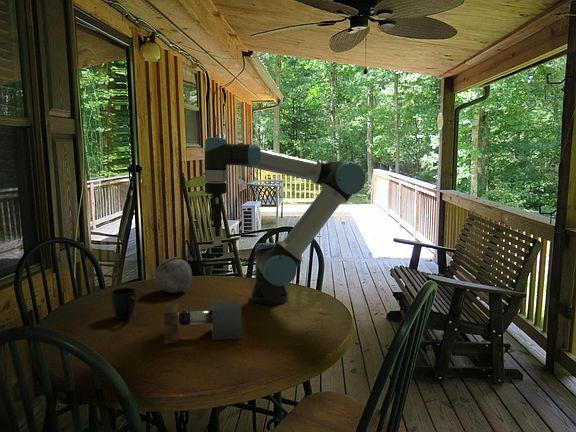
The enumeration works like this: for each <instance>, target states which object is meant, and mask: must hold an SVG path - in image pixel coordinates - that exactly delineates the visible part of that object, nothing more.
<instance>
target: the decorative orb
mask: <svg viewBox="0 0 576 432" xmlns="http://www.w3.org/2000/svg"><path fill="white" fill-rule="evenodd" d="M154 277H155V281H156V284H157V285H158V287H159V288H160V289H162V290H163V291H164V292H165V293H169V294H177V293H180V292H182V291H185V289H187V287H189V286H190V284H191V281H192V279H193V271H192V267H191V266H190V264H189V263H188V262H187V261H186V260H185V259H183V258H181V257H179V256H178V257H177V256H174V257H170V258H167V259H165V260H163V261H162V262H161V263H160V264H159V265H158V267H157V268H156V269H155V273H154Z"/></svg>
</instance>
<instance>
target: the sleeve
mask: <svg viewBox="0 0 576 432" xmlns="http://www.w3.org/2000/svg"><path fill="white" fill-rule="evenodd" d="M210 305H211V306H210V310H212V323H210V326H211V328H210V329H211V337H212V341H221V340H232V339H233V340H236V339H242V306H241V303H240V301H239V300H238V299H237V300H223V301H222V300H219V301H218V300H217V301H216V300H215V301H210Z"/></svg>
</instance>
